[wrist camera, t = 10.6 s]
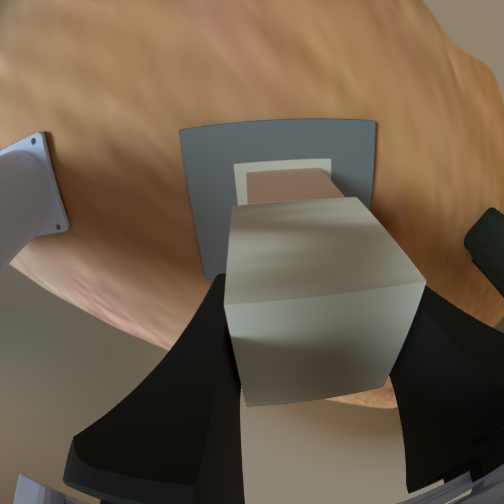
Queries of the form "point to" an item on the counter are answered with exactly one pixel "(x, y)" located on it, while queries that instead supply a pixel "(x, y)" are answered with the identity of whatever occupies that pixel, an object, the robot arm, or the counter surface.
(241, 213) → the block cream
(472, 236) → the black and grey bottle
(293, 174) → the block brown
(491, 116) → the counter surface
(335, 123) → the board
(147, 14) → the counter surface
